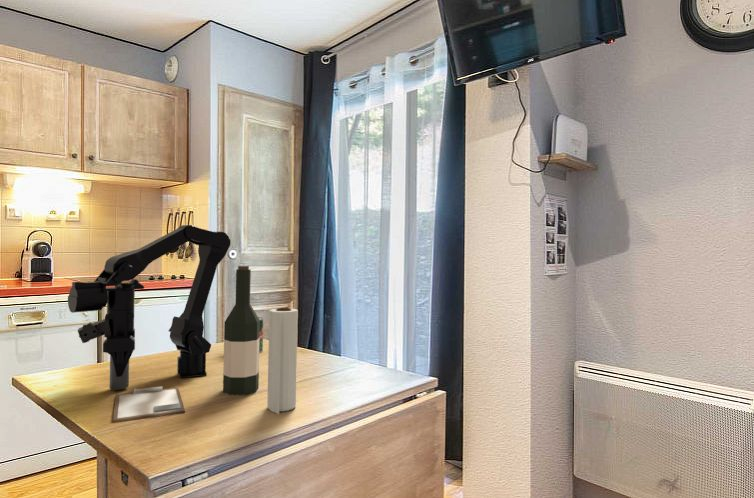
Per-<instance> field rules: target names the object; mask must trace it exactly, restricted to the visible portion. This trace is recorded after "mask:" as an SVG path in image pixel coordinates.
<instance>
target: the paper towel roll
mask: <svg viewBox="0 0 754 498" xmlns="http://www.w3.org/2000/svg"><path fill="white" fill-rule="evenodd" d="M268 313H269V314H268V315H269V316H268V317H269V319H268V361H267V362H268V363H267V364H268V365H267V402H266V403H267V404H266V405H267V406H266V407H267V409H268V410H270V412H272V413H276V414H277V415H278V416H279V415H280V412H288V411H291V410H294V409H296V406H297V366H298V365H297V364H298V362H297V361H298V318H299V314H298V313H299V310H298V309H296V308H290V307H289V308H288V307H281V308H272V309H269V312H268Z"/></svg>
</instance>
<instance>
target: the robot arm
mask: <svg viewBox="0 0 754 498" xmlns="http://www.w3.org/2000/svg"><path fill="white" fill-rule="evenodd" d="M231 241H232V240H231V239H230V236H229V235H228V234H227V233H226V232H225V231H212V230H207V229H204V228H200V227H197V226H194V225H193V224H183V225H179V227H177V228H176V229H174V230H172V231H169V233H167V234H165V235H162V236H161V237H159V238H157V239H155V240H153V241H151V242H149V243H148V244H146V245H143V246H141V247H140V248H137V249H133V250H130V251H126V252H123V253H120V254H117V255H114V256H110V258H108V259H107V260H106V261H105V264H104V268H103V270H102V271H101V272H100V273H99V275H98V276H97V277H96V278H95V280H94V281H87V282H86V281H85V282H83V281H73V282H71V288H70V290H69V293H68V294H69V295H68V296H67V305H68V310H69V311H70V313H83V312H96V311H102V310H103V308H105V307H106V313H105V315H104V318H103V319H101V320H97V321H95V322H89V323H87V324H83V325H82V326H81V327H79V328H78V329H77V333H78V337H79V339H80V341H81V342H82V344H85V343H89V342H90V341H92V340H94V339H97V338H99V337H100V338H101V337H102V336H104V337H103V338H106V339H104V340H103V343H102V353H105V354H106V353H107V354H108V355H109V356H110V355H111V356H112V359H113V363H114V367H115V372H116V376H117V377H121V376H122V375H123V373H124V370H125V368H126V366H127V364H128V361H129V362H130V359H131V357H132V354H133V352H134V351H135V349H136V339H135V337H136V332H135V331H136V328H135V293H136V291H135V290H143V289H145V286H144V285H143V284H141V282H139V280H138V279H136V277H137V276H139V275H140V274H141V273H142V272H144V271H145V270H146V268H147V267H148V266H149V265H150V264H151V263H153V262H155V261H156V260H159V258H162V257H163V256H165V255H167V254H168V253H170V252H172V251H173V250H176V249H177V248H179V247H181V246H182V245H185V244H186V243H188V242H189V243H191V244H192V245H196V246H198V249H197V252H198V258H199V261H198V266H197V267H196V272H195V275H194V278H193V282H192V284H191V288H190V291H189V293H188V298H187V301H186V304H185V307H184V310H183V312H182V313H181V315H180V316H175V315H174V316H173V318H172V322H171V324H170V325H171V326H170V328H169V329H168V332H170V334H169V339H170V341H171V342H172V344H174V345H175V347H176V350H177V351H179V356H177V364H176V365H177V366H176V367H177V369H176V372H177V375H179V377H180V379H181V378H182V379H184V378H194V377H202V376H203V377H204V376H207V375H208V373H207V369H206V365H207V363H206V361H207V353H210V350H211V348H212V344H211V343H210V342H209V341H208V340H207V339H206V338H205V337H204V329H205V328H204V327H205V325H204V318H203V315H204V310H205V307H206V304H207V300H208V298H209V294H210V291H211V287H212V284H213V281H214V278H215V274H216V272H217V267H218V265H219V264H220V263H221V261H222V260H223V259H224V258H225V256H226V255H227V253H228V251H229V249H230V247H231V243H232V242H231Z"/></svg>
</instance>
